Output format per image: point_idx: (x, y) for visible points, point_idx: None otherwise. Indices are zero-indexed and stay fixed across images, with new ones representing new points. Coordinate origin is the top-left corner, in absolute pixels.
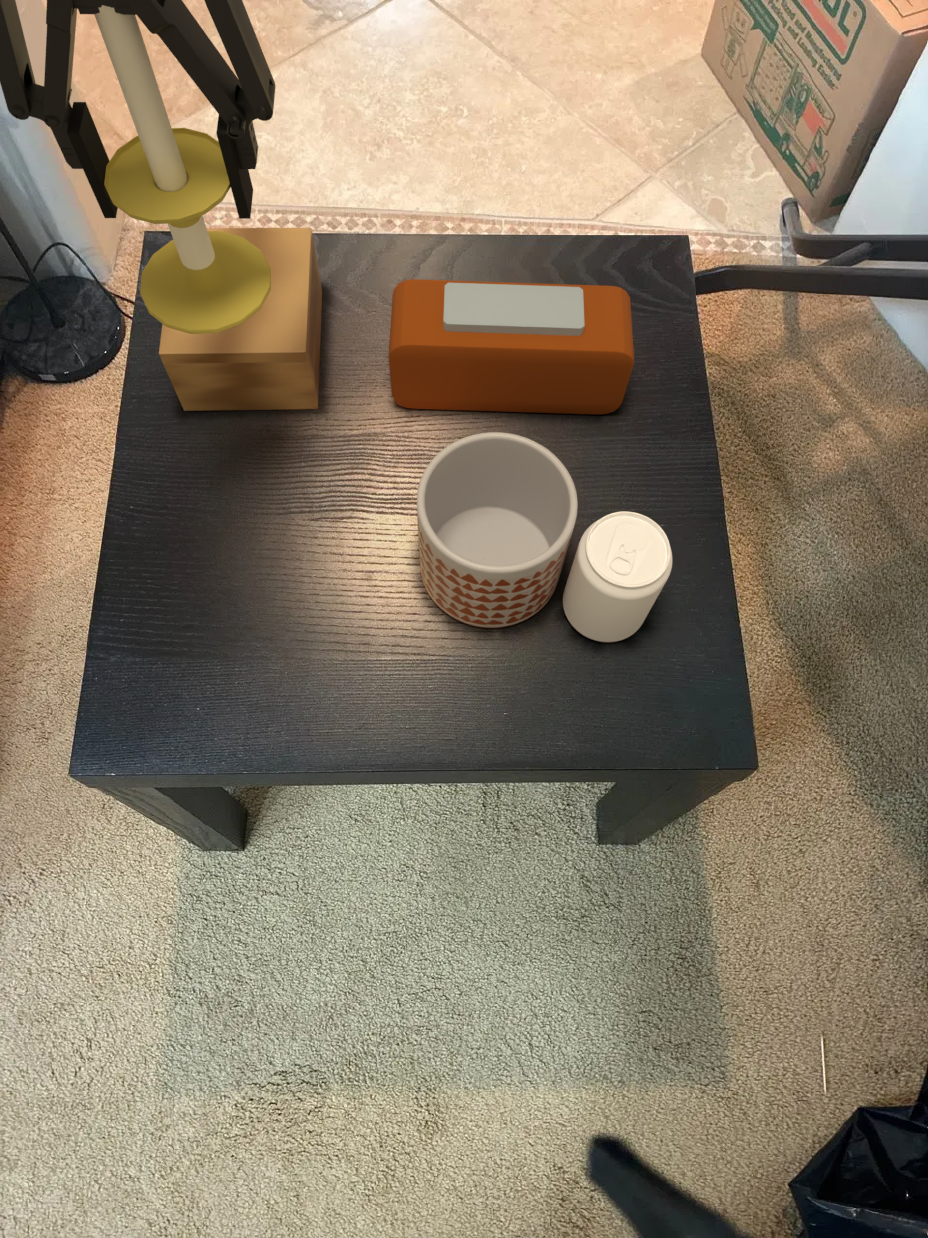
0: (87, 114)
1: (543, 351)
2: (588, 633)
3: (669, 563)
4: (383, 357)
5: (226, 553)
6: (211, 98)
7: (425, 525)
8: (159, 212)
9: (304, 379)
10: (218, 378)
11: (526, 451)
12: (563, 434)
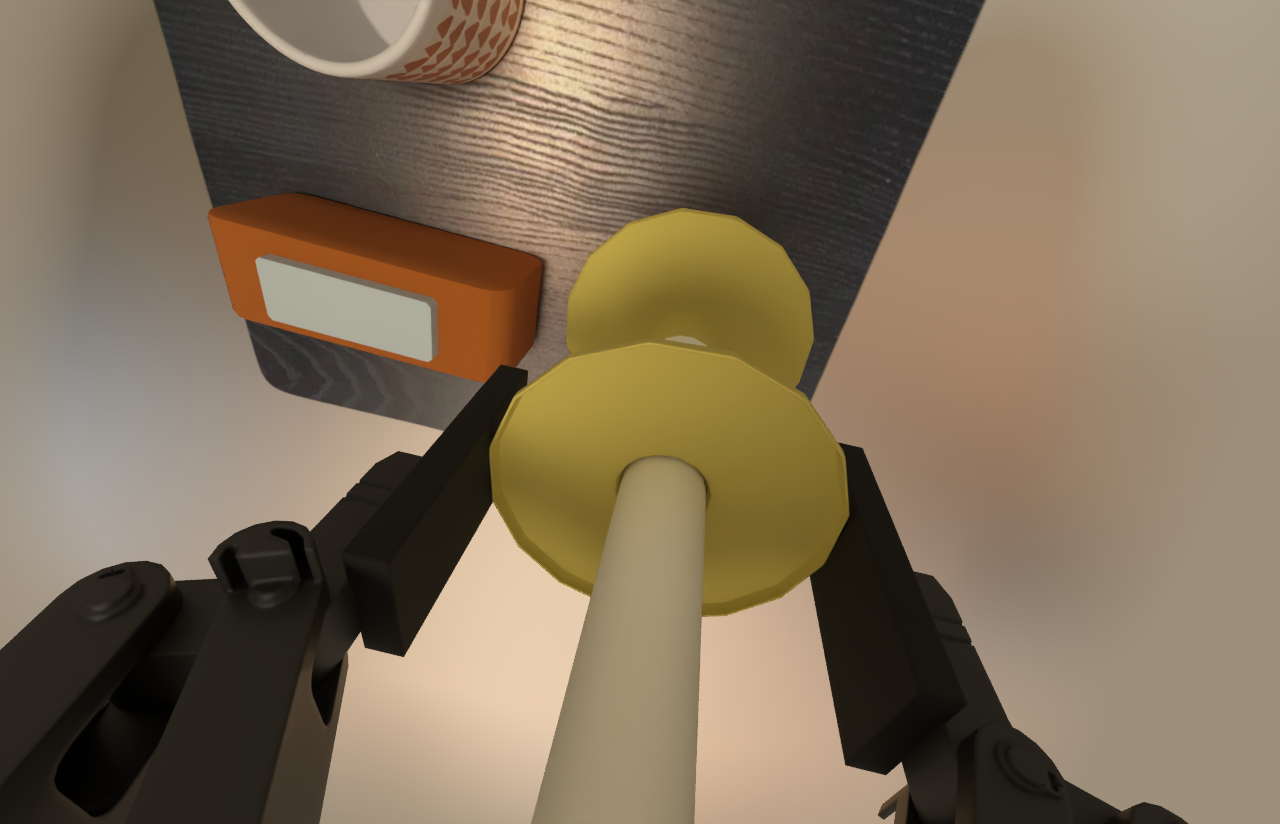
0: (850, 723)
1: (313, 241)
2: None
3: None
4: (554, 328)
5: (785, 70)
6: (266, 712)
7: None
8: (710, 391)
9: None
10: None
11: (287, 35)
12: (354, 177)
